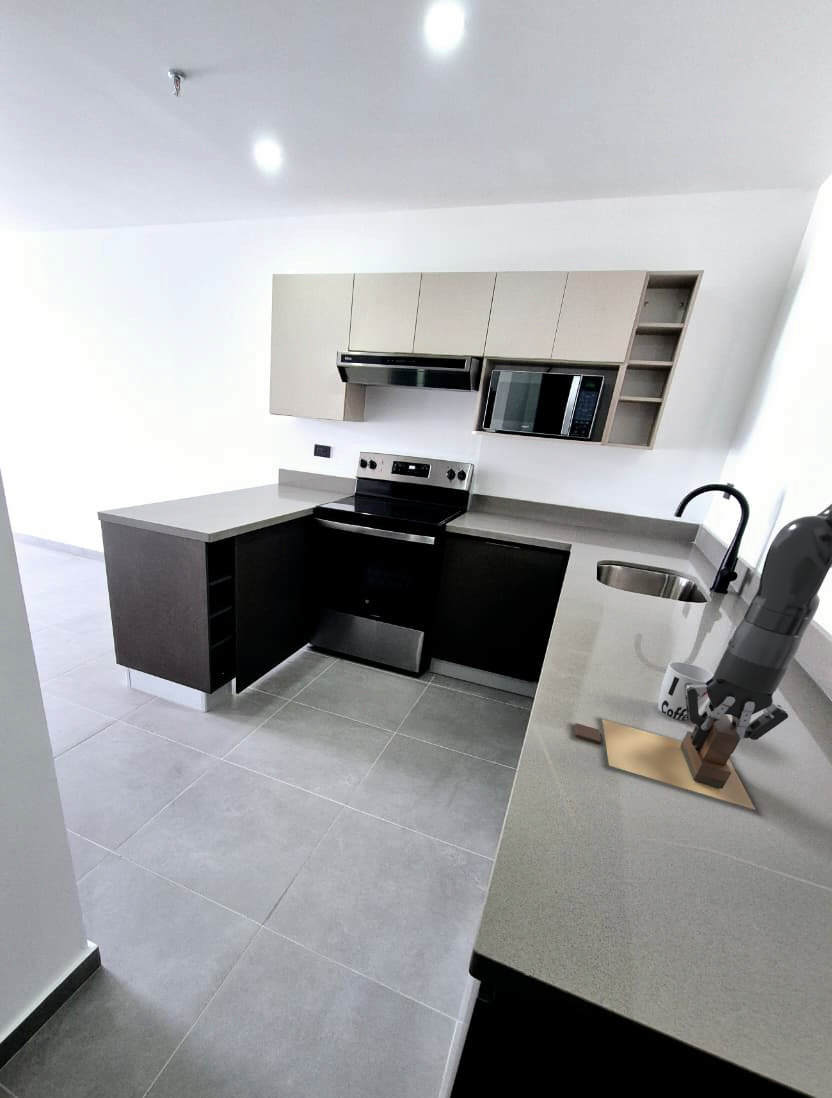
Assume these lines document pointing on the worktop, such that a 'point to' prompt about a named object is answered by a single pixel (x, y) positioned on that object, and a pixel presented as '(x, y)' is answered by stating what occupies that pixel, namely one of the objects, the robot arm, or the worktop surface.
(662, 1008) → the worktop surface
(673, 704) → the cup
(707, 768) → the stepped wooden block
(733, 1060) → the worktop surface
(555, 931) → the worktop surface
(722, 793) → the board
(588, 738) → the small brown wooden tile
